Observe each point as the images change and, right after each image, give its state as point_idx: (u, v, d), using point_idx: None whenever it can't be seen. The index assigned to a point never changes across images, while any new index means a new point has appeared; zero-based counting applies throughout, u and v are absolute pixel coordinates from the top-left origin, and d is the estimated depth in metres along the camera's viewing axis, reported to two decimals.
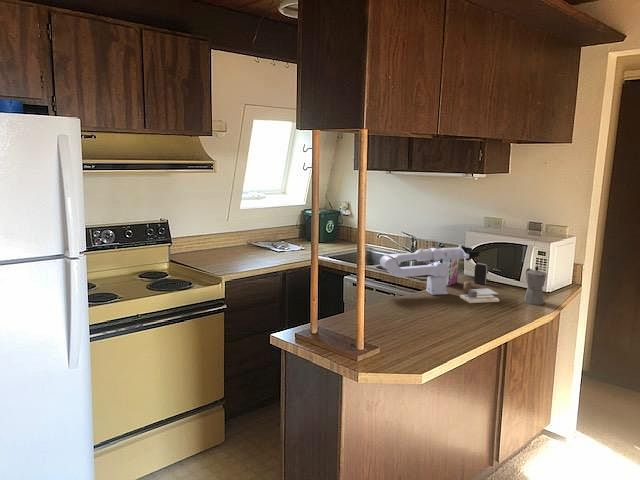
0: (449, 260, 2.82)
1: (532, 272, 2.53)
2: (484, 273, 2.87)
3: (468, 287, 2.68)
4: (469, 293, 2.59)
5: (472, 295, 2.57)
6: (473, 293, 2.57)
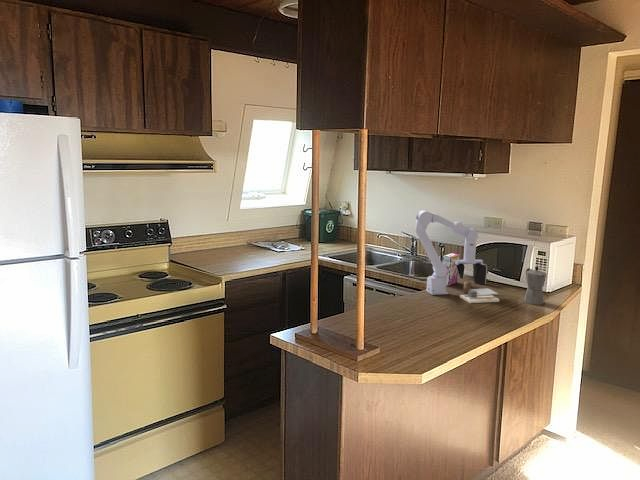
0: (449, 260, 2.82)
1: (532, 272, 2.53)
2: (484, 273, 2.87)
3: (468, 287, 2.68)
4: (469, 293, 2.59)
5: (472, 295, 2.57)
6: (473, 293, 2.57)
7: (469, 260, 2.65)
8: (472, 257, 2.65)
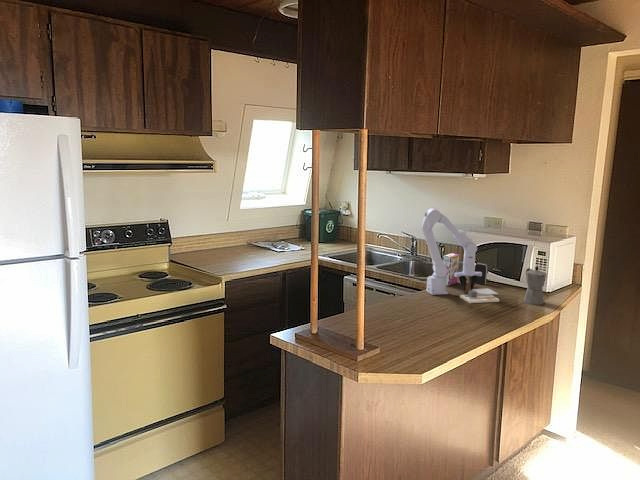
0: (449, 260, 2.82)
1: (532, 272, 2.53)
2: (484, 273, 2.87)
3: (468, 287, 2.68)
4: (469, 293, 2.59)
5: (472, 295, 2.57)
6: (473, 293, 2.57)
7: (468, 272, 2.66)
8: (471, 269, 2.66)
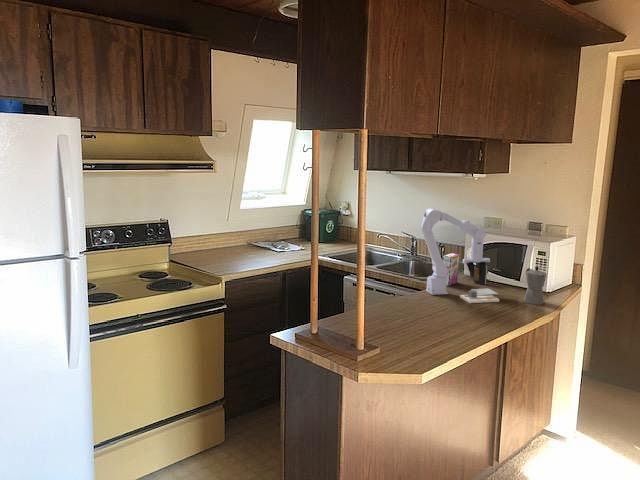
0: (449, 260, 2.82)
1: (532, 272, 2.53)
2: (484, 273, 2.87)
3: (476, 273, 2.68)
4: (469, 293, 2.59)
5: (472, 295, 2.57)
6: (473, 293, 2.57)
7: (476, 259, 2.65)
8: (479, 256, 2.65)
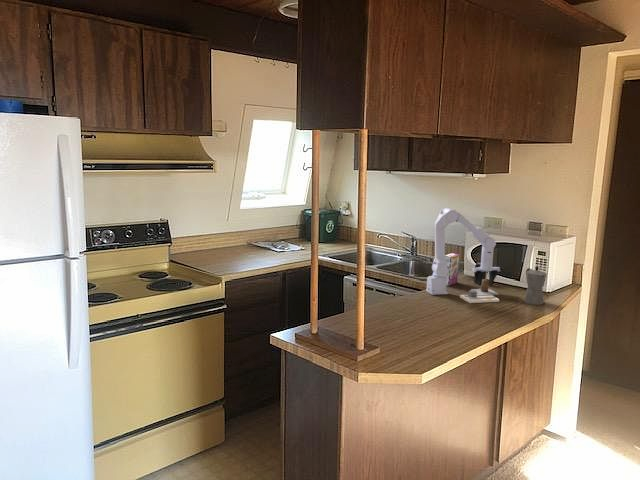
0: (449, 260, 2.82)
1: (532, 272, 2.53)
2: (484, 273, 2.87)
3: (486, 285, 2.70)
4: (469, 293, 2.59)
5: (472, 295, 2.57)
6: (473, 293, 2.57)
7: (486, 267, 2.68)
8: (489, 264, 2.67)
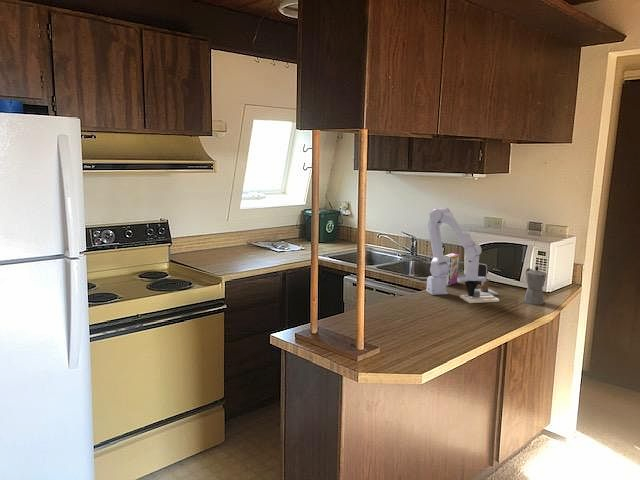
0: (449, 260, 2.82)
1: (532, 272, 2.53)
2: (484, 273, 2.87)
3: (485, 285, 2.70)
4: None
5: (475, 295, 2.58)
6: (476, 293, 2.58)
7: (471, 277, 2.54)
8: (475, 274, 2.54)
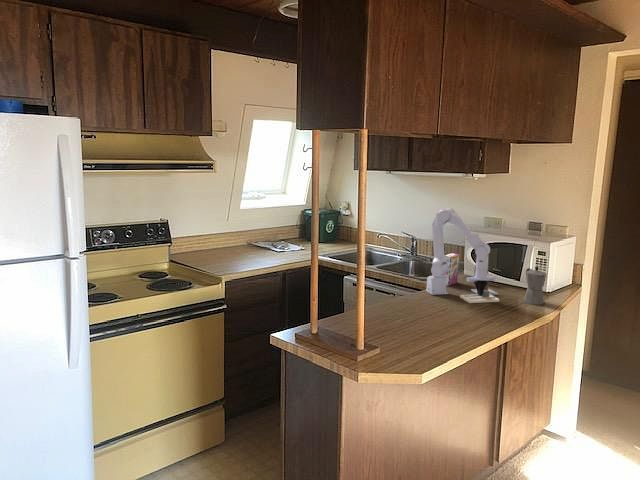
0: (449, 260, 2.82)
1: (532, 272, 2.53)
2: None
3: None
4: None
5: (484, 294, 2.59)
6: (485, 292, 2.59)
7: (481, 277, 2.55)
8: (484, 274, 2.55)
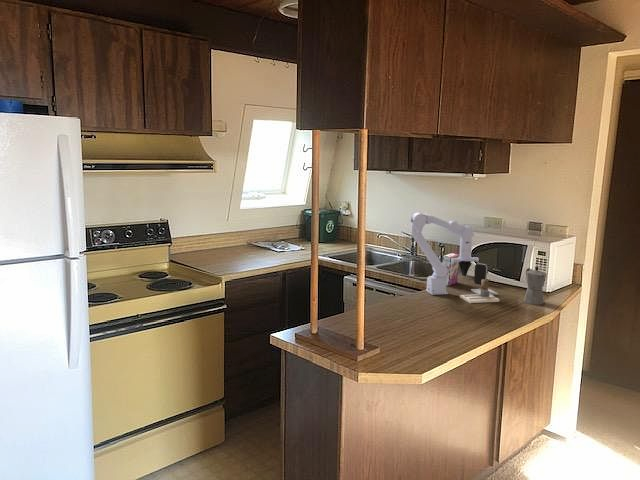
0: (449, 260, 2.82)
1: (532, 272, 2.53)
2: (484, 273, 2.87)
3: (485, 285, 2.70)
4: (481, 292, 2.60)
5: (485, 294, 2.59)
6: (486, 292, 2.59)
7: (465, 258, 2.65)
8: (468, 255, 2.65)
